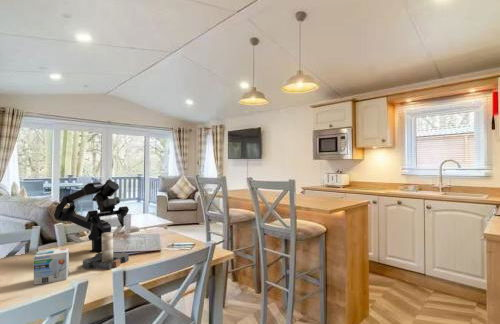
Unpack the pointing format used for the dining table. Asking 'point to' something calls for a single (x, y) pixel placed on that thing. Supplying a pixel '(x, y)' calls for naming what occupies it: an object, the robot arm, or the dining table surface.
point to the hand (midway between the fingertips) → (113, 228)
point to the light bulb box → (51, 266)
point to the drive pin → (107, 247)
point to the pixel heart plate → (98, 264)
